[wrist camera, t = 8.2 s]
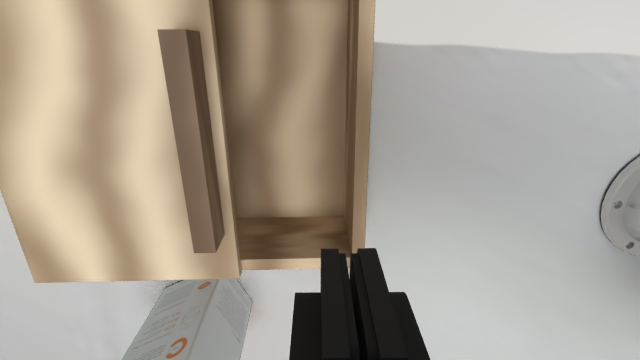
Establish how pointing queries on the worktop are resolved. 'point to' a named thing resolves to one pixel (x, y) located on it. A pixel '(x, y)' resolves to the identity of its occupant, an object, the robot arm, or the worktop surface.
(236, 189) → the mailer box
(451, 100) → the worktop surface
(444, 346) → the worktop surface
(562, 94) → the worktop surface
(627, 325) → the worktop surface
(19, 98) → the mailer lid
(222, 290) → the small box
